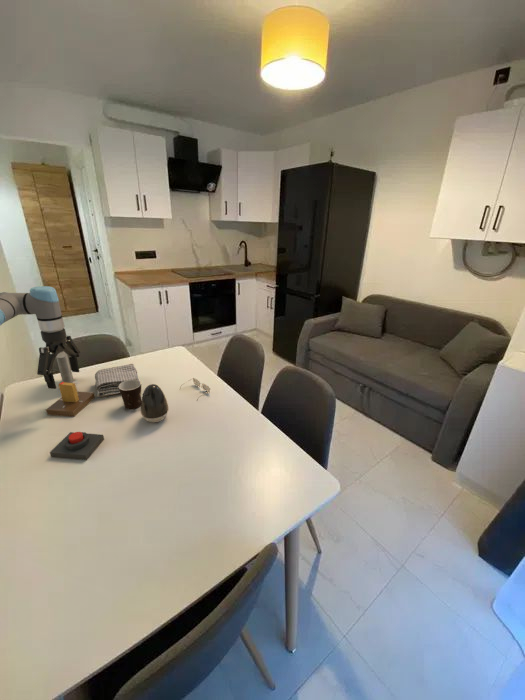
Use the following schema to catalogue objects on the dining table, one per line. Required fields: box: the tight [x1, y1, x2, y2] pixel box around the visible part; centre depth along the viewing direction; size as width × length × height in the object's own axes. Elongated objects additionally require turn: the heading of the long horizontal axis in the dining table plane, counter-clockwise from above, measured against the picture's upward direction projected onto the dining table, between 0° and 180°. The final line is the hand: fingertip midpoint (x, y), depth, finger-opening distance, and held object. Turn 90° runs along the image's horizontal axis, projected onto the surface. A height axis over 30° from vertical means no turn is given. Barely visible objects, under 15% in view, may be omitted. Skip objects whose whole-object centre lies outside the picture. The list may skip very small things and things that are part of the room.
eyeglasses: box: [179, 377, 211, 401], centre depth 133 cm, size 14×8×4 cm, turn 49°
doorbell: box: [49, 431, 105, 461], centre depth 98 cm, size 12×10×4 cm
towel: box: [94, 363, 143, 398], centre depth 134 cm, size 15×18×8 cm
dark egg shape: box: [140, 383, 170, 423], centre depth 112 cm, size 10×10×15 cm
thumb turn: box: [58, 381, 79, 402], centre depth 118 cm, size 6×2×8 cm, turn 86°
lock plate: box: [45, 391, 96, 418], centre depth 120 cm, size 14×11×3 cm
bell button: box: [69, 431, 84, 444], centre depth 97 cm, size 4×4×2 cm
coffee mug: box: [118, 379, 142, 411], centre depth 119 cm, size 12×9×10 cm
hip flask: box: [55, 351, 74, 383], centre depth 131 cm, size 16×4×20 cm, turn 33°
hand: (64, 379), depth 115 cm, fingers open, 13 cm apart
